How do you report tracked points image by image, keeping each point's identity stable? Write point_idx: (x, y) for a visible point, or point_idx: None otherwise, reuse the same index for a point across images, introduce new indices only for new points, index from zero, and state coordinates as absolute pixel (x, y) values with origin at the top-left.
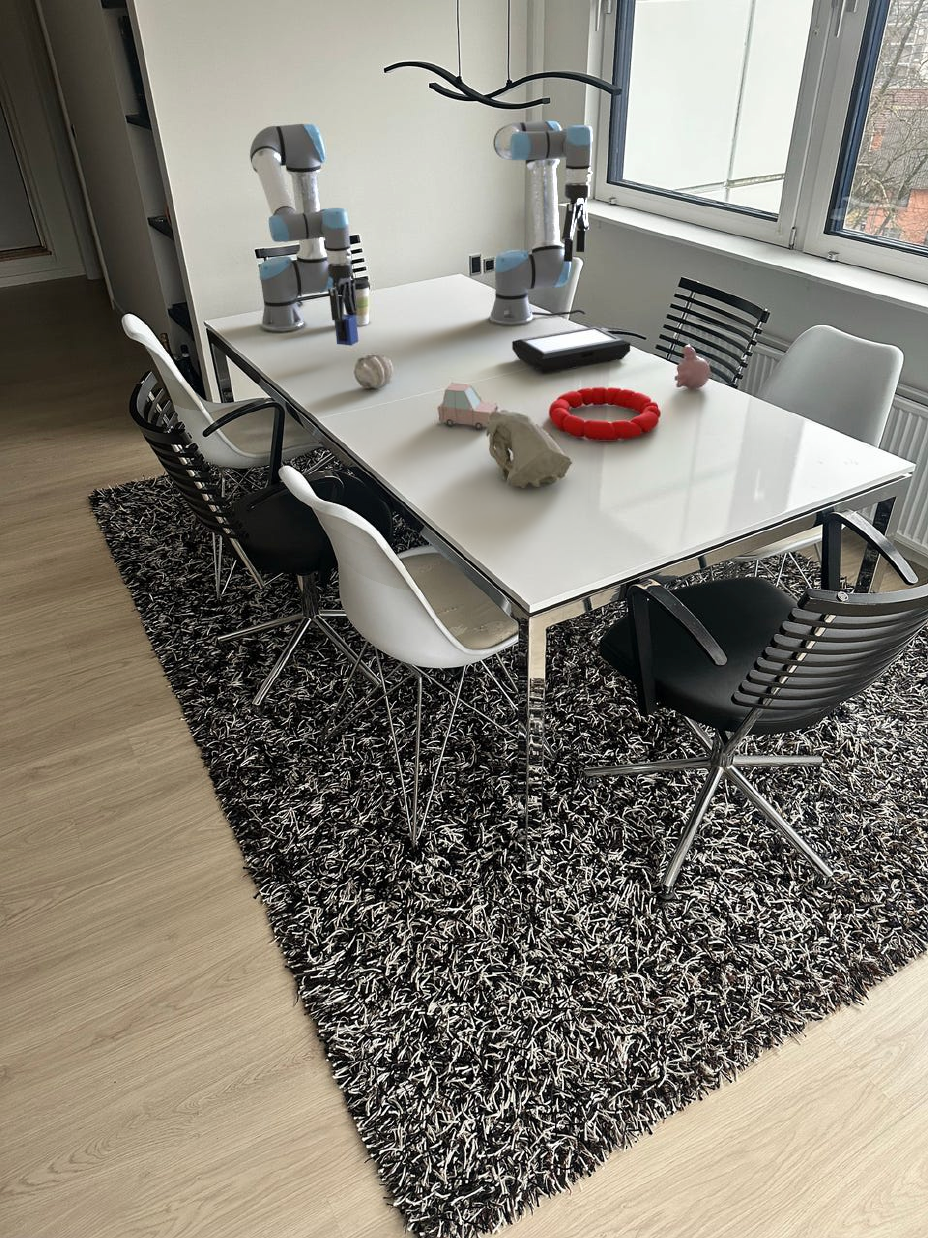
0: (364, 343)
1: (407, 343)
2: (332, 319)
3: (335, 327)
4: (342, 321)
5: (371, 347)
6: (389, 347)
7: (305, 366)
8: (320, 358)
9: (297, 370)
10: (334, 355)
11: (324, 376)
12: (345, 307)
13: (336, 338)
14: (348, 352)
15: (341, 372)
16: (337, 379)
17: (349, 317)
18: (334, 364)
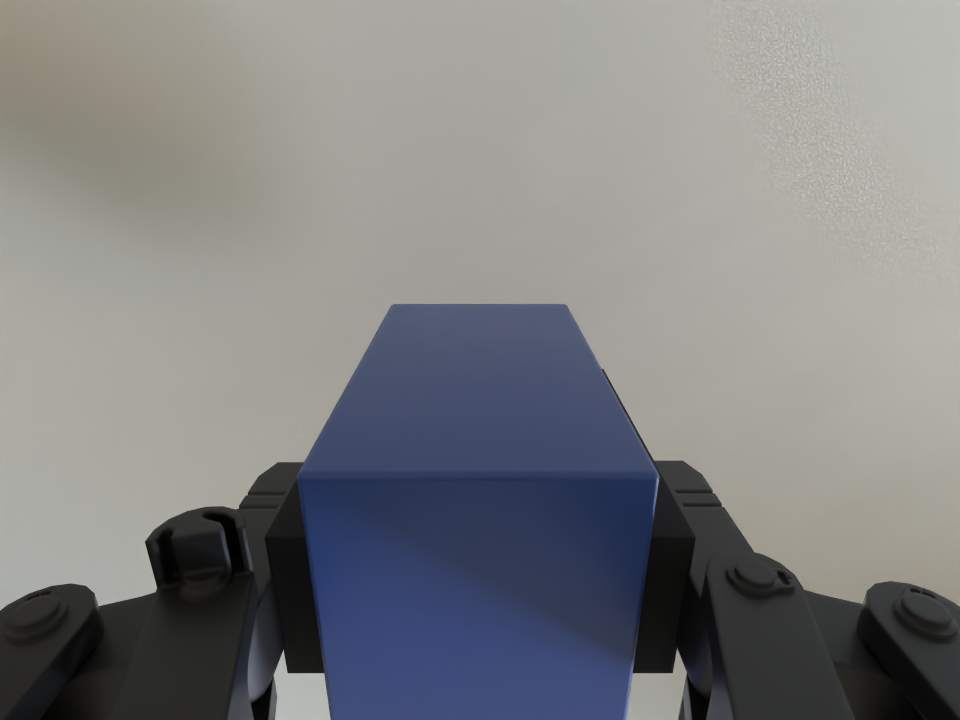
0: (942, 238)
1: (952, 556)
2: (12, 609)
3: (346, 388)
4: (288, 632)
5: (828, 353)
6: (843, 482)
7: (141, 19)
8: (413, 38)
9: (4, 5)
10: (541, 136)
11: (41, 346)
12: (723, 715)
13: (381, 323)
14: (657, 225)
15: (187, 421)
16: (52, 465)
17: (460, 712)
18: (320, 273)
